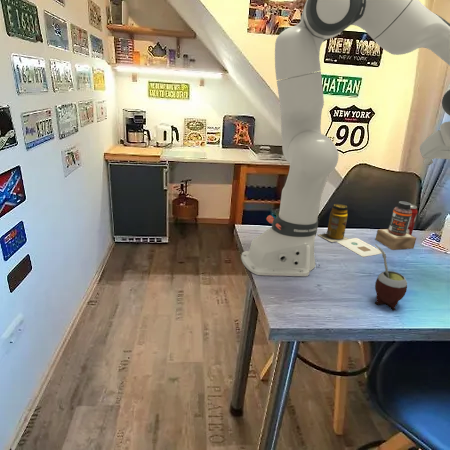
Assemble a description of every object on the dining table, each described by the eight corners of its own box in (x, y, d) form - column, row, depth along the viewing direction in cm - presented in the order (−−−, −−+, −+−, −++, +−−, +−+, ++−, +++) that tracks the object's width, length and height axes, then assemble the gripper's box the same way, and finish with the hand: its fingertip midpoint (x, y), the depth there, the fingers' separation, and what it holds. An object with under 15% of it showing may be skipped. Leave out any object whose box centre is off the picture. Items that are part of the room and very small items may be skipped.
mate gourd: (407, 310, 86) (423, 255, 81) (379, 312, 85) (394, 257, 79) (388, 294, 93) (402, 242, 88) (361, 296, 91) (374, 243, 86)
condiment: (348, 239, 127) (354, 207, 123) (331, 242, 123) (337, 209, 119) (334, 232, 133) (339, 202, 129) (317, 235, 129) (321, 204, 125)
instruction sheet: (362, 257, 114) (363, 256, 114) (335, 241, 125) (335, 240, 125) (385, 253, 118) (385, 252, 118) (356, 238, 129) (356, 237, 129)
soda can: (408, 240, 130) (417, 209, 126) (389, 235, 134) (397, 205, 130) (412, 235, 136) (420, 205, 131) (393, 230, 139) (401, 201, 135)
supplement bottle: (388, 234, 123) (396, 203, 119) (387, 228, 128) (394, 199, 124) (407, 237, 121) (415, 206, 117) (405, 231, 126) (413, 201, 122)
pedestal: (392, 249, 121) (394, 238, 119) (375, 239, 129) (377, 228, 128) (413, 248, 123) (416, 237, 122) (395, 238, 131) (398, 227, 130)
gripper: (509, 126, 93) (470, 156, 106) (437, 122, 91) (406, 153, 104) (517, 146, 91) (477, 174, 103) (443, 142, 89) (411, 171, 101)
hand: (441, 164), depth 103 cm, fingers open, 8 cm apart
